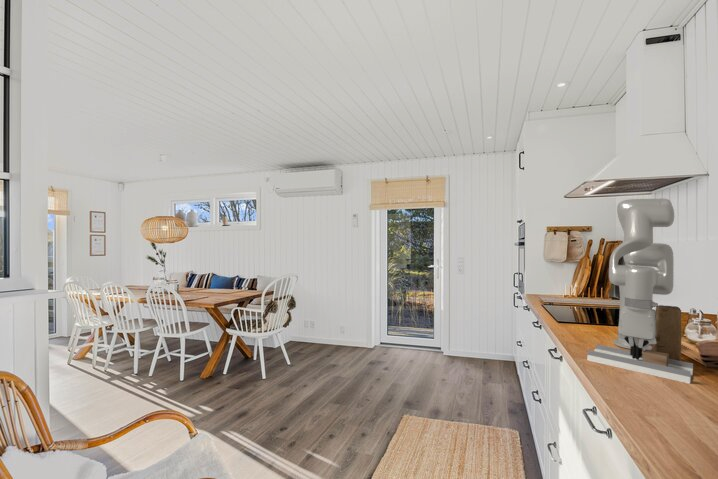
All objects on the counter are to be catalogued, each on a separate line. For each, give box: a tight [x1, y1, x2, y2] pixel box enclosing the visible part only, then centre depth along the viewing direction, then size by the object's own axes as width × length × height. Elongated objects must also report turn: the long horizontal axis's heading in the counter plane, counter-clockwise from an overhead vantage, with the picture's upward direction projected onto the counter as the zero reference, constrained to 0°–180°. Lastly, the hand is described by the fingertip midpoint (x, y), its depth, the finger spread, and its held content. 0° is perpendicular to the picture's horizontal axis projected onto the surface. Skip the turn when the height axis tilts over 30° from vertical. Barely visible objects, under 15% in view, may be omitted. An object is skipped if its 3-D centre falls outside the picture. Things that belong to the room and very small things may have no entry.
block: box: [652, 304, 682, 361], centre depth 130 cm, size 11×8×20 cm
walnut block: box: [642, 350, 669, 367], centre depth 121 cm, size 5×6×4 cm
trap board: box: [586, 344, 694, 385], centre depth 125 cm, size 12×27×4 cm, turn 45°
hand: (635, 358), depth 125 cm, fingers closed
